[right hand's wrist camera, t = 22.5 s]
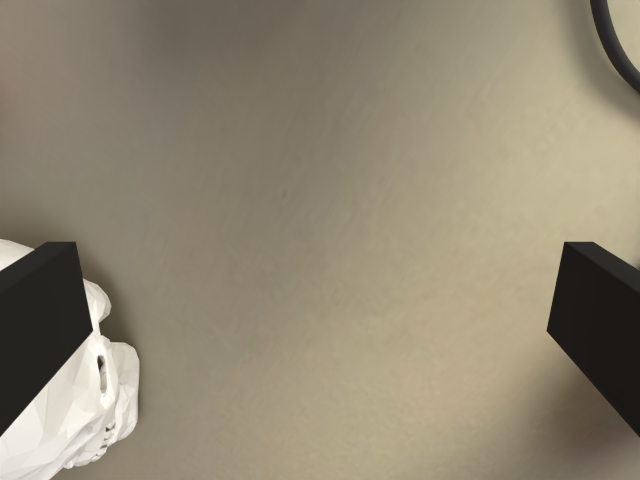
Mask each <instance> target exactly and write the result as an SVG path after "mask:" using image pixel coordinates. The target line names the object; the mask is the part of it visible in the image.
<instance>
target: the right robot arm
mask: <svg viewBox="0 0 640 480" xmlns="http://www.w3.org/2000/svg"><path fill="white" fill-rule="evenodd" d="M590 4H591V9H592V14H593V18H594V22H595V26H596V29H597V32H598V35H599V38H600V40H601V43H602V45H603V47H604V50H605V52H606V54H607V56H608V58H609V59H610V61H611V62H612V64H613V66H614V67H615V69H616V70H617V71H618V73H619V74H620V75H621V76H622V77H623V78H624V79H625V81H626V82H627V83H629V84H630V85H631V86H632V87H633V88H634V89H635V90H637V91H638V92H639V93H640V72H639V71H638V70H637V69H636V68H635V67H634V66H633V64H632V63H631V62H630V60H629V59H628V57H627V56H626V54H625V52H624V50H623V49H622V47H621V45H620V42H619V40H618V38H617V35H616V33H615V30H614V27H613V24H612V21H611V17H610V14H609V9H608V4H607V0H590ZM92 332H93V326H92V321H91V316H90V311H89V306H88V301H87V296H86V291H85V286H84V281H83V277H82V272H81V267H80V262H79V257H78V252H77V247H76V242H46V243H44V244H43V245H41V246H39V247H38V248H36V249H35V250H33V251H31V252H30V253H28V254H27V255H25V256H23V257H22V258H20V259H19V260H17V261H15V262H14V263H12V264H11V265H9V266H7V267H6V268H4V269H2V270H1V271H0V437H1V436H2V435H3V434H4V433H5V431H6V430H7V429H8V428H9V427H10V426H11V425H12V423H13V422H14V421H15V420H16V419H17V418H18V417H19V415H20V414H21V413H22V412H23V411H24V410H25V409H26V407H27V406H28V405H29V404H30V403H31V402H32V401H33V399H34V398H35V397H36V396H37V395H38V394H39V393H40V391H41V390H42V389H43V388H44V387H45V386H46V385H47V383H48V382H49V381H50V380H51V379H52V378H53V377H54V375H55V374H56V373H57V372H58V371H59V370H60V369H61V367H62V366H63V365H64V364H65V363H66V362H67V361H68V359H69V358H70V357H71V356H72V355H73V354H74V353H75V351H76V350H77V349H78V348H79V347H80V346H81V345H82V343H83V342H84V341H85V340H86V339H87V338H88V337H89V335H90V334H91V333H92ZM547 332H548V333H549V334H550V335H551V337H552V338H553V339H554V340H555V341H556V342H557V343H558V345H559V346H560V347H561V348H562V349H563V350H564V351H565V353H566V354H567V355H568V356H569V357H570V358H571V359H572V361H573V362H574V363H575V364H576V365H577V366H578V367H579V369H580V370H581V371H582V372H583V373H584V374H585V375H586V377H587V378H588V379H589V380H590V381H591V382H592V383H593V385H594V386H595V387H596V388H597V389H598V390H599V391H600V393H601V394H602V395H603V396H604V397H605V398H606V399H607V401H608V402H609V403H610V404H611V405H612V406H613V407H614V409H615V410H616V411H617V412H618V413H619V414H620V415H621V417H622V418H623V419H624V420H625V421H626V422H627V423H628V425H629V426H630V427H631V428H632V429H633V430H634V431H635V433H636V434H637V435H638V436H639V437H640V271H639V270H638V269H636V268H634V267H633V266H631V265H629V264H628V263H626V262H625V261H623V260H621V259H620V258H618V257H617V256H615V255H613V254H612V253H610V252H609V251H607V250H605V249H604V248H602V247H601V246H599V245H597V244H596V243H594V242H564V247H563V252H562V257H561V262H560V267H559V272H558V277H557V281H556V286H555V291H554V296H553V301H552V306H551V311H550V316H549V321H548V326H547Z"/></svg>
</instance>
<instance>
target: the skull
mask: <svg viewBox="0 0 640 480" xmlns="http://www.w3.org/2000/svg"><path fill="white" fill-rule="evenodd" d="M33 250H35V249H33V248H30V247H27V246H24V245H21V244H18V243H15V242H12V241H9V240H3V239H0V271H1V270H2V269H4V268H6V267H7V266H9V265H11V264H12V263H14V262H15V261H17V260H19V259H20V258H22V257H23V256H25V255H27V254H28V253H30V252H31V251H33ZM83 281H84V286H85V291H86V296H87V301H88V306H89V311H90V316H91V321H92V326H93V332H92V333H91V334H90V335H89V337H88V338H87V339H86V340H85V341H84V342H83V343H82V345H81V346H80V347H79V348H78V349H77V350H76V351H75V353H74V354H73V355H72V356H71V357H70V358H69V359H68V361H67V362H66V363H65V364H64V365H63V366H62V367H61V369H60V370H59V371H58V372H57V373H56V374H55V375H54V377H53V378H52V379H51V380H50V381H49V382H48V383H47V385H46V386H45V387H44V388H43V389H42V390H41V391H40V393H39V394H38V395H37V396H36V397H35V398H34V399H33V401H32V402H31V403H30V404H29V405H28V406H27V407H26V409H25V410H24V411H23V412H22V413H21V414H20V415H19V417H18V418H17V419H16V420H15V421H14V422H13V423H12V425H11V426H10V427H9V428H8V429H7V430H6V431H5V433H4V434H3V435H2V436H1V437H0V480H49V479H51V478H52V477H53V476H54V475H55V474H56V473H57V472H58V471H59V470H61V469H62V468H63V467H65V468H67V469H69V468H72V467H73V466H82V465H86V464H88V463H89V462H91V461H92V462H94V461H96V460H98V459H99V458H100V457H101V456H102V455H103V454H104V453H105V452H106V449H107V447H108V446H110V445H111V444H113V443H114V442H116V441H118V440H121V439H123V438H126V437H127V436H128V435H129V434H130V433H131V432H132V431H133V429H134V427H135V425H136V423H137V421H138V385H139V359H138V356H137V353H136V350H135V349H134V348H133V347H131V346H130V345H128V344H126V343H122V342H110V340H109V339H108V338H106V337H104V336H103V335H101V333H100V329H99V323H100V322H101V321H102V320H103V319H104V318H106V317H107V316H108V315H109V314H110V310H111V304H110V301H109V298H108V296H107V295H106V293H105V292H104V291H103V290H102V289H101V288H100V287H99V286H98V285H97V284H94V283H92V282H89V281H87V280H85V279H83ZM100 335H101V336H100ZM98 356H99V357H100V359H101V361H102V363H103V364H102V367H101V369H100V372H99V369H98V364H97V359H98ZM96 454H97V455H96Z"/></svg>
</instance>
